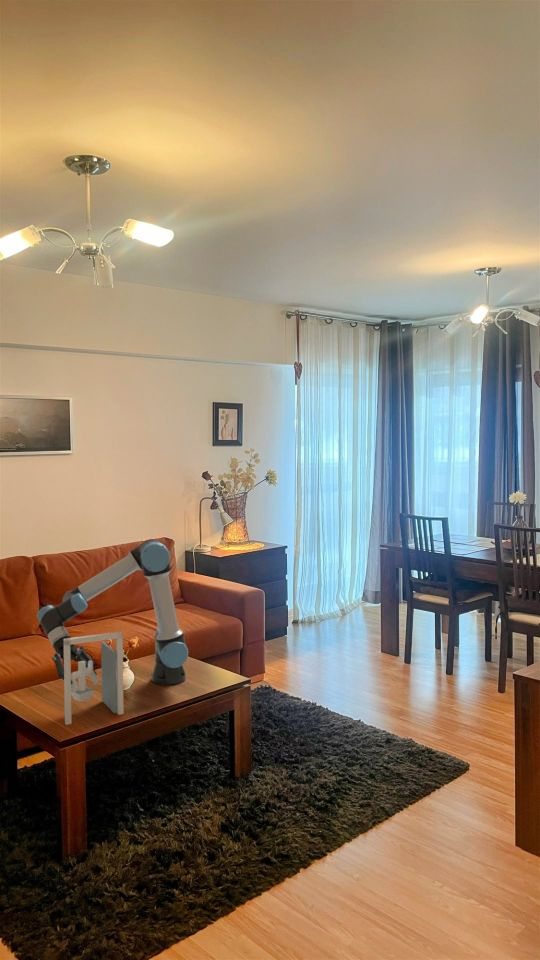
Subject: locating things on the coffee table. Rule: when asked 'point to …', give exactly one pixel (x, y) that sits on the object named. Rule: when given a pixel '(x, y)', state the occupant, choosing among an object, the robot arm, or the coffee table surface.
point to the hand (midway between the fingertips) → (87, 687)
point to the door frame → (67, 668)
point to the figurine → (82, 681)
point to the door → (109, 677)
